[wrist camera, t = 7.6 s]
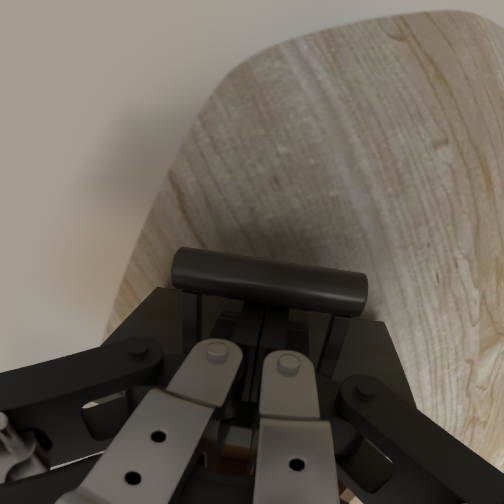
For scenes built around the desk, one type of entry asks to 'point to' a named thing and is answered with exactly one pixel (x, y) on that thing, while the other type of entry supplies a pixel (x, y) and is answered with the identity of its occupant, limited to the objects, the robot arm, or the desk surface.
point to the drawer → (276, 294)
